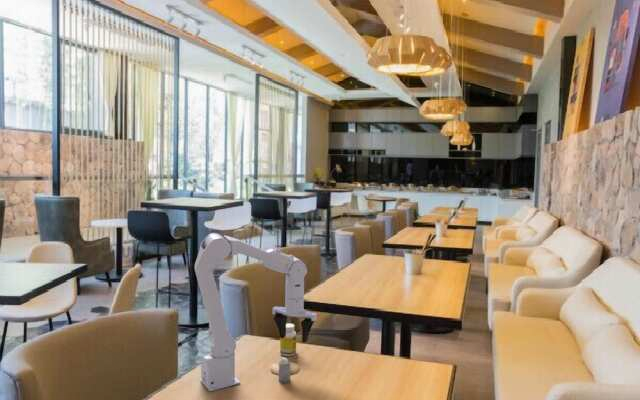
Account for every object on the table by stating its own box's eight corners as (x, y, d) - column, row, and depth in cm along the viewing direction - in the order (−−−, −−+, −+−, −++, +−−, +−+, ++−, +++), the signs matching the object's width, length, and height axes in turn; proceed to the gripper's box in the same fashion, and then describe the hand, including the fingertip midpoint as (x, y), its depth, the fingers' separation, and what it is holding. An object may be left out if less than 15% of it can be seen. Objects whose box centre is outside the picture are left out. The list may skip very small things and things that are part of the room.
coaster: (278, 377, 152) (278, 376, 152) (265, 366, 160) (265, 365, 159) (304, 370, 157) (304, 369, 157) (289, 360, 164) (289, 359, 164)
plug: (282, 384, 148) (282, 362, 147) (276, 379, 151) (276, 358, 150) (292, 381, 150) (292, 359, 149) (286, 377, 153) (286, 355, 152)
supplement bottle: (295, 356, 168) (295, 328, 167) (279, 356, 168) (279, 328, 167) (296, 350, 173) (296, 322, 172) (281, 349, 173) (281, 322, 172)
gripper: (321, 296, 155) (320, 339, 157) (280, 290, 161) (279, 331, 163) (311, 302, 149) (310, 346, 150) (269, 296, 155) (268, 338, 156)
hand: (293, 339), depth 156 cm, fingers open, 7 cm apart
